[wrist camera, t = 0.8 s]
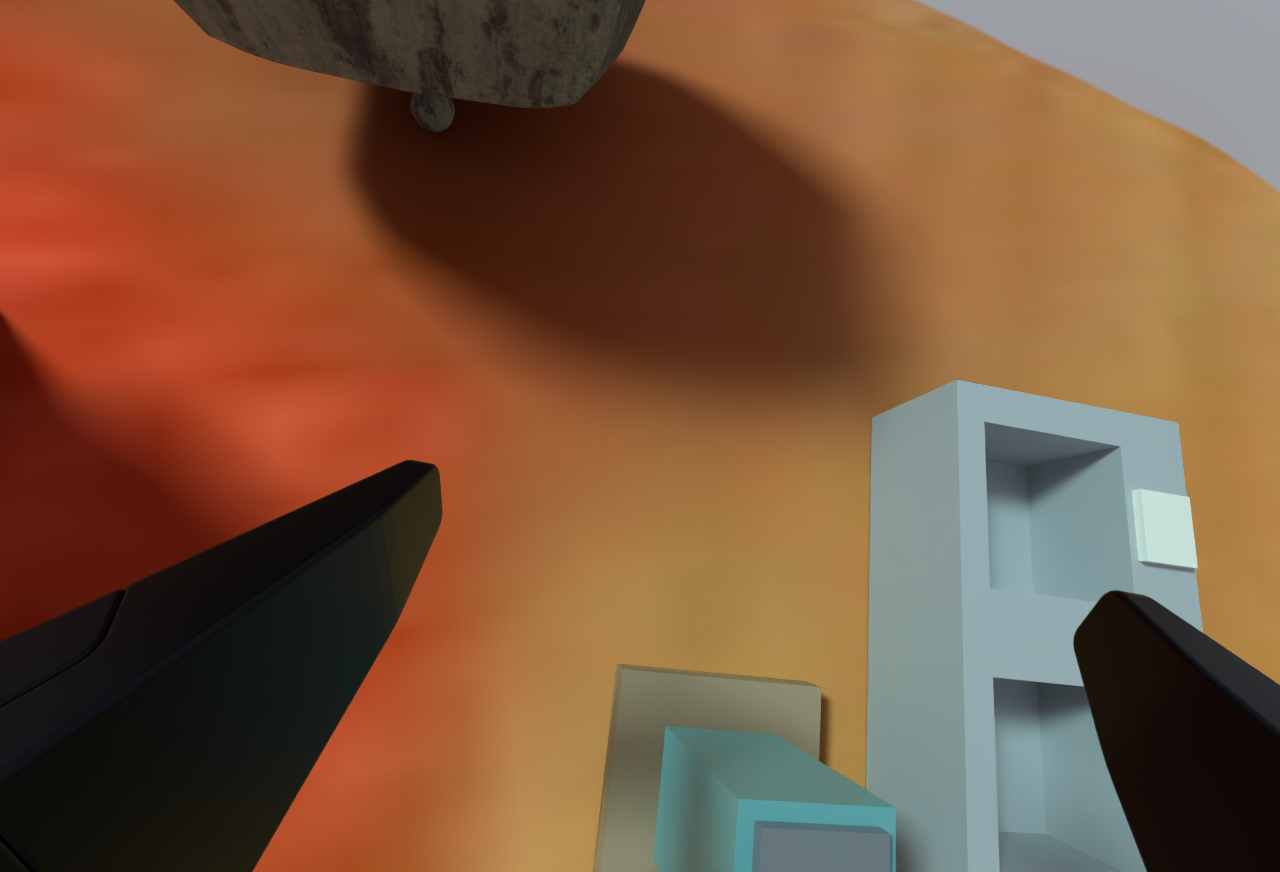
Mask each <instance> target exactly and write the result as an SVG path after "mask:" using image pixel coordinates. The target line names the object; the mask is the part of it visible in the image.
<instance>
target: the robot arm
mask: <svg viewBox="0 0 1280 872" xmlns="http://www.w3.org/2000/svg"><path fill="white" fill-rule="evenodd" d="M441 519H442V498H441V485H440V474H439V470H438V468H437V467H436V466H435V465H434V464H431V463H425V462H420V461H415V460H406V461H403V462H400V463H398V464H396V465H394V466H392V467H389V468H387V469H385V470H383V471H380V472H378V473H376V474H374V475H372V476H369V477H367V478H365V479H363V480H360V481H358V482H356V483H354V484H352V485H349V486H347V487H345V488H343V489H340V490H338V491H336V492H334V493H332V494H329V495H327V496H325V497H323V498H320V499H318V500H316V501H314V502H312V503H309V504H307V505H305V506H303V507H300V508H298V509H296V510H294V511H291V512H289V513H287V514H285V515H283V516H280V517H278V518H276V519H274V520H271V521H269V522H267V523H265V524H263V525H260V526H258V527H256V528H254V529H251V530H249V531H247V532H245V533H243V534H240V535H238V536H236V537H234V538H231V539H229V540H227V541H225V542H223V543H220V544H218V545H216V546H214V547H211V548H209V549H207V550H205V551H202V552H200V553H198V554H196V555H194V556H191V557H189V558H187V559H185V560H182V561H180V562H178V563H176V564H174V565H171V566H169V567H167V568H165V569H162V570H160V571H158V572H156V573H153V574H151V575H149V576H147V577H145V578H142V579H140V580H138V581H136V582H133V583H131V584H130V585H128V587H127V588H126V590H125V589H117V590H115V591H113V592H111V593H109V594H106V595H104V596H102V597H100V598H98V599H95V600H93V601H91V602H89V603H86V604H84V605H82V606H80V607H77V608H75V609H73V610H71V611H68V612H66V613H64V614H61V615H59V616H57V617H54V618H52V619H50V620H47V621H45V622H43V623H40V624H38V625H36V626H34V627H31V628H29V629H27V630H24V631H22V632H20V633H17V634H15V635H13V636H10V637H8V638H5V639H3V640H0V872H253V870H254V868H255V866H256V865H257V863H258V861H259V860H260V858H261V856H262V854H263V853H264V851H265V849H266V848H267V846H268V844H269V842H270V841H271V839H272V837H273V835H274V834H275V832H276V830H277V829H278V827H279V825H280V823H281V822H282V820H283V818H284V817H285V815H286V813H287V811H288V810H289V808H290V806H291V805H292V803H293V801H294V799H295V798H296V796H297V794H298V792H299V791H300V789H301V787H302V786H303V784H304V782H305V780H306V779H307V777H308V775H309V774H310V772H311V770H312V768H313V767H314V765H315V763H316V762H317V760H318V758H319V756H320V755H321V753H322V751H323V749H324V748H325V746H326V744H327V743H328V741H329V739H330V737H331V736H332V734H333V732H334V731H335V729H336V727H337V725H338V724H339V722H340V720H341V718H342V717H343V715H344V713H345V712H346V710H347V708H348V706H349V705H350V703H351V701H352V700H353V698H354V696H355V694H356V693H357V691H358V689H359V688H360V686H361V684H362V682H363V681H364V679H365V677H366V675H367V674H368V672H369V670H370V669H371V667H372V665H373V663H374V662H375V660H376V658H377V657H378V655H379V653H380V651H381V650H382V648H383V646H384V645H385V643H386V641H387V639H388V638H389V636H390V634H391V632H392V630H393V629H394V627H395V625H396V623H397V621H398V619H399V617H400V615H401V613H402V611H403V608H404V606H405V604H406V602H407V600H408V597H409V595H410V593H411V590H412V588H413V586H414V584H415V581H416V579H417V577H418V575H419V572H420V570H421V568H422V565H423V563H424V561H425V559H426V556H427V554H428V552H429V549H430V547H431V545H432V543H433V540H434V538H435V536H436V533H437V531H438V529H439V526H440V523H441ZM1073 647H1074V652H1075V656H1076V659H1077V663H1078V667H1079V670H1080V674H1081V678H1082V681H1083V685H1084V689H1085V692H1086V696H1087V699H1088V703H1089V707H1090V710H1091V714H1092V718H1093V721H1094V725H1095V729H1096V732H1097V736H1098V740H1099V743H1100V747H1101V750H1102V753H1103V757H1104V760H1105V763H1106V766H1107V769H1108V772H1109V775H1110V777H1111V780H1112V783H1113V786H1114V788H1115V791H1116V793H1117V796H1118V799H1119V801H1120V804H1121V806H1122V809H1123V812H1124V814H1125V817H1126V820H1127V822H1128V825H1129V827H1130V830H1131V833H1132V835H1133V838H1134V840H1135V843H1136V846H1137V848H1138V851H1139V853H1140V856H1141V859H1142V861H1143V864H1144V866H1145V869H1146V872H1280V685H1279V684H1277V683H1276V682H1274V681H1273V680H1272V679H1270V678H1269V677H1267V676H1266V675H1264V674H1263V673H1261V672H1260V671H1258V670H1257V669H1255V668H1254V667H1252V666H1251V665H1249V664H1248V663H1247V662H1245V661H1244V660H1242V659H1241V658H1239V657H1238V656H1236V655H1235V654H1233V653H1232V652H1230V651H1229V650H1227V649H1226V648H1224V647H1223V646H1221V645H1220V644H1219V643H1217V642H1216V641H1214V640H1213V639H1211V638H1210V637H1208V636H1207V635H1205V634H1204V633H1202V632H1201V631H1199V630H1198V629H1196V628H1195V627H1193V626H1192V625H1191V624H1189V623H1188V622H1186V621H1185V620H1183V619H1182V618H1180V617H1179V616H1177V615H1176V614H1174V613H1173V612H1171V611H1170V610H1168V609H1167V608H1166V607H1164V606H1163V605H1161V604H1160V603H1158V602H1157V601H1155V600H1154V599H1152V598H1150V597H1148V596H1145V595H1142V594H1136V593H1131V592H1125V591H1120V590H1112V591H1109V592H1107V593H1105V594H1104V595H1103V596H1102V597H1101V598H1100V599H1099V600H1098V602H1097V603H1096V604H1095V606H1094V607H1093V608H1092V610H1091V611H1090V612H1089V614H1088V615H1087V616H1086V617H1085V619H1084V620H1083V621H1082V623H1081V624H1080V625H1079V627H1078V628H1077V630H1076V632H1075V634H1074V639H1073Z"/></svg>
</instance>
